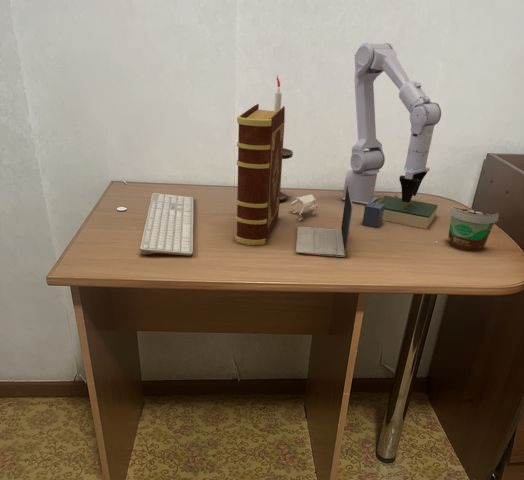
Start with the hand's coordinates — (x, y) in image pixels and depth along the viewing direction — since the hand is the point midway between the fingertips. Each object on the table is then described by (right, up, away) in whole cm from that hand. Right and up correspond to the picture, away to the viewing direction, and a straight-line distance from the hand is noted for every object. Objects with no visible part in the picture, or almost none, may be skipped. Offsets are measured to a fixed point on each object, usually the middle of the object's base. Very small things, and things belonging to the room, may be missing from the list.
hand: (408, 198), depth 153 cm
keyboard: (-69, -10, -10) cm, 70 cm away
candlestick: (-40, +4, +14) cm, 42 cm away
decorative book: (-45, -12, -11) cm, 47 cm away
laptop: (-28, -17, -16) cm, 37 cm away
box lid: (0, -2, +2) cm, 3 cm away
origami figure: (-31, -5, +1) cm, 32 cm away
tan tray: (0, -5, +3) cm, 6 cm away
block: (-11, -8, -3) cm, 14 cm away
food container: (+10, -18, -15) cm, 25 cm away
